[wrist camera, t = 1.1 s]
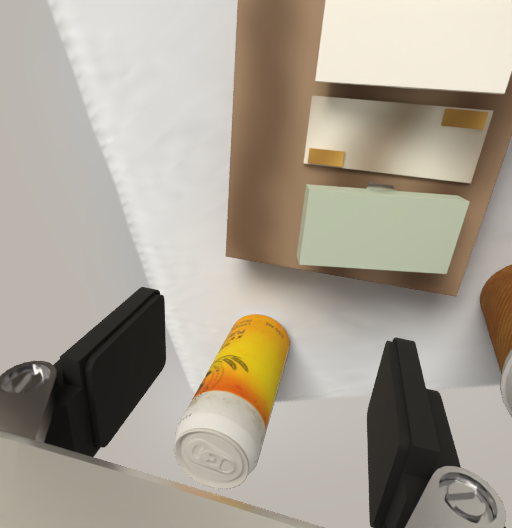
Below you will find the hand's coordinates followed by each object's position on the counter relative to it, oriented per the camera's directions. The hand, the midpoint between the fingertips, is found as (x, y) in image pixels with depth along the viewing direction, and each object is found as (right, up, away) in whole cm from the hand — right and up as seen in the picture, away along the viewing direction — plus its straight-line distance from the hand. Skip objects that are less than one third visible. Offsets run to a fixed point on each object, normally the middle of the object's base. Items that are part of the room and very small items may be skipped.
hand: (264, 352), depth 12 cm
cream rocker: (+9, +15, +9) cm, 20 cm away
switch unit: (+8, +13, +17) cm, 22 cm away
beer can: (0, -4, +27) cm, 27 cm away
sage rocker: (+8, +5, +13) cm, 16 cm away
